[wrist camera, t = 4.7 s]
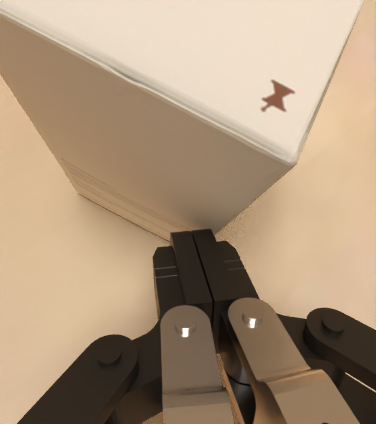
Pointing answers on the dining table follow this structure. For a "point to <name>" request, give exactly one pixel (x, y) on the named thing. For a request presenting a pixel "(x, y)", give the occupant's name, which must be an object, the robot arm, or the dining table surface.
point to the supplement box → (173, 96)
